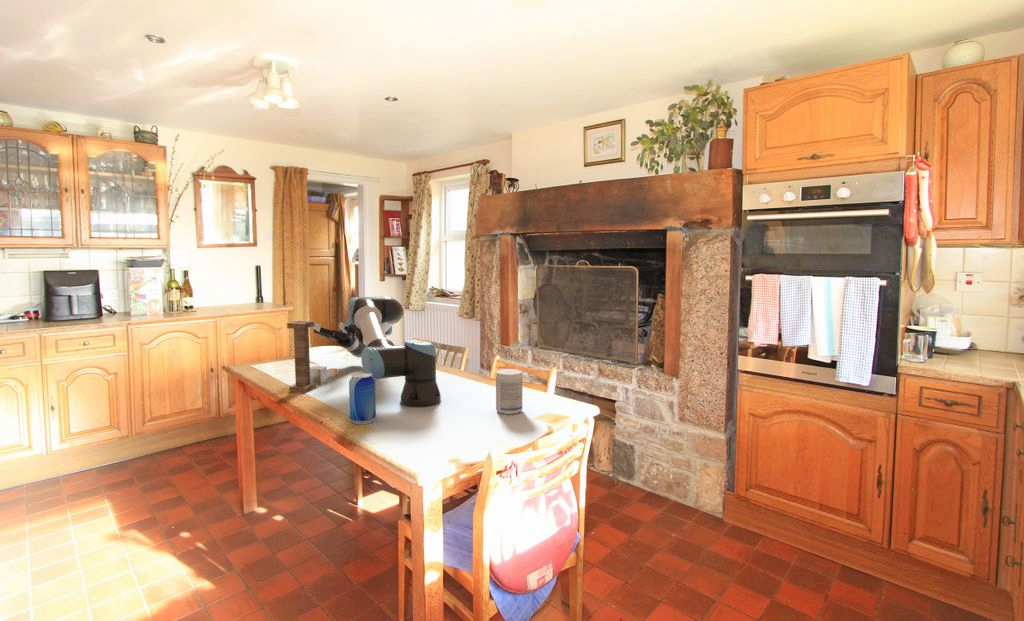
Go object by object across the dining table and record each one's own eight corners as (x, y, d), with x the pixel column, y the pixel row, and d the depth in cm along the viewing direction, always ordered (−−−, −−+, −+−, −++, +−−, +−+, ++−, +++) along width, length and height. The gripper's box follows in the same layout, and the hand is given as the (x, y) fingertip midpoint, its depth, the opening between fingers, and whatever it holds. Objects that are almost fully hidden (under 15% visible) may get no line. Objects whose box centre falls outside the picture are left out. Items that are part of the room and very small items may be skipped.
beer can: (366, 415, 179) (365, 370, 177) (380, 420, 174) (380, 374, 172) (344, 421, 173) (343, 375, 171) (359, 427, 167) (358, 379, 166)
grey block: (320, 385, 218) (320, 369, 217) (308, 384, 219) (307, 368, 218) (340, 376, 233) (339, 361, 232) (327, 375, 234) (327, 360, 233)
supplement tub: (527, 411, 186) (528, 371, 184) (508, 417, 179) (509, 376, 178) (509, 405, 193) (509, 367, 191) (490, 410, 186) (490, 371, 185)
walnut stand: (305, 393, 206) (302, 324, 203) (289, 391, 207) (287, 323, 204) (316, 387, 214) (314, 321, 210) (301, 386, 215) (298, 320, 212)
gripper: (370, 349, 241) (350, 333, 222) (321, 347, 246) (298, 330, 227) (373, 334, 244) (354, 317, 225) (325, 332, 249) (302, 315, 230)
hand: (326, 324), depth 226 cm, fingers open, 13 cm apart
